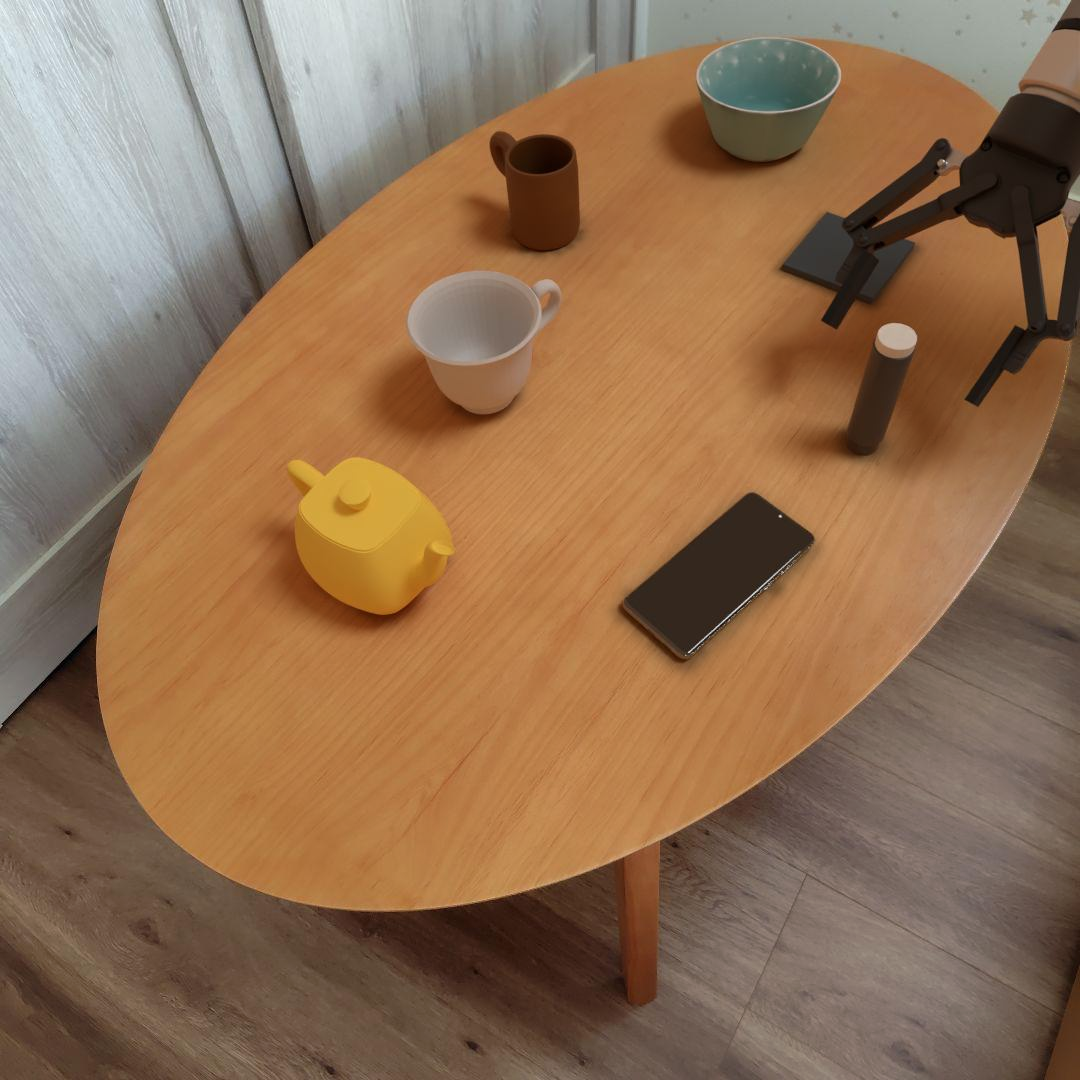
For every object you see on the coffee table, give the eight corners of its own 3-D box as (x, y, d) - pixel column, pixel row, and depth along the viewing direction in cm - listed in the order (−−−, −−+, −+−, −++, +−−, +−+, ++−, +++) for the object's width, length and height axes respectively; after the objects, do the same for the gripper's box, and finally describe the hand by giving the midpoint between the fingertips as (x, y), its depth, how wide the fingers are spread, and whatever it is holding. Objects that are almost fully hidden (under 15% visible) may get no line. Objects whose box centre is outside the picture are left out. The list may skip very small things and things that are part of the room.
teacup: (597, 391, 90) (595, 311, 82) (462, 460, 86) (445, 384, 78) (532, 320, 96) (524, 239, 88) (403, 382, 93) (382, 303, 84)
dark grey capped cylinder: (886, 439, 84) (925, 331, 74) (871, 462, 83) (908, 356, 72) (853, 424, 86) (886, 316, 75) (837, 447, 84) (869, 340, 74)
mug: (473, 214, 107) (462, 138, 99) (524, 184, 109) (516, 108, 102) (543, 262, 101) (536, 186, 93) (594, 230, 104) (592, 153, 96)
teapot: (511, 575, 79) (498, 498, 70) (426, 672, 74) (400, 603, 66) (356, 480, 86) (326, 400, 77) (270, 564, 81) (227, 489, 73)
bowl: (664, 135, 113) (667, 67, 106) (765, 87, 117) (774, 20, 110) (751, 198, 105) (760, 130, 98) (856, 145, 109) (872, 76, 102)
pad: (913, 248, 98) (915, 242, 98) (871, 304, 94) (873, 298, 94) (825, 217, 102) (826, 211, 102) (781, 270, 98) (782, 263, 97)
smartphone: (618, 601, 76) (751, 487, 81) (618, 608, 77) (750, 495, 82) (685, 660, 72) (820, 537, 77) (684, 666, 73) (818, 545, 78)
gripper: (1225, 191, 69) (1042, 442, 76) (924, 75, 80) (789, 303, 87) (1232, 160, 63) (1032, 437, 70) (904, 38, 73) (760, 287, 81)
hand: (897, 363), depth 78 cm, fingers open, 13 cm apart
